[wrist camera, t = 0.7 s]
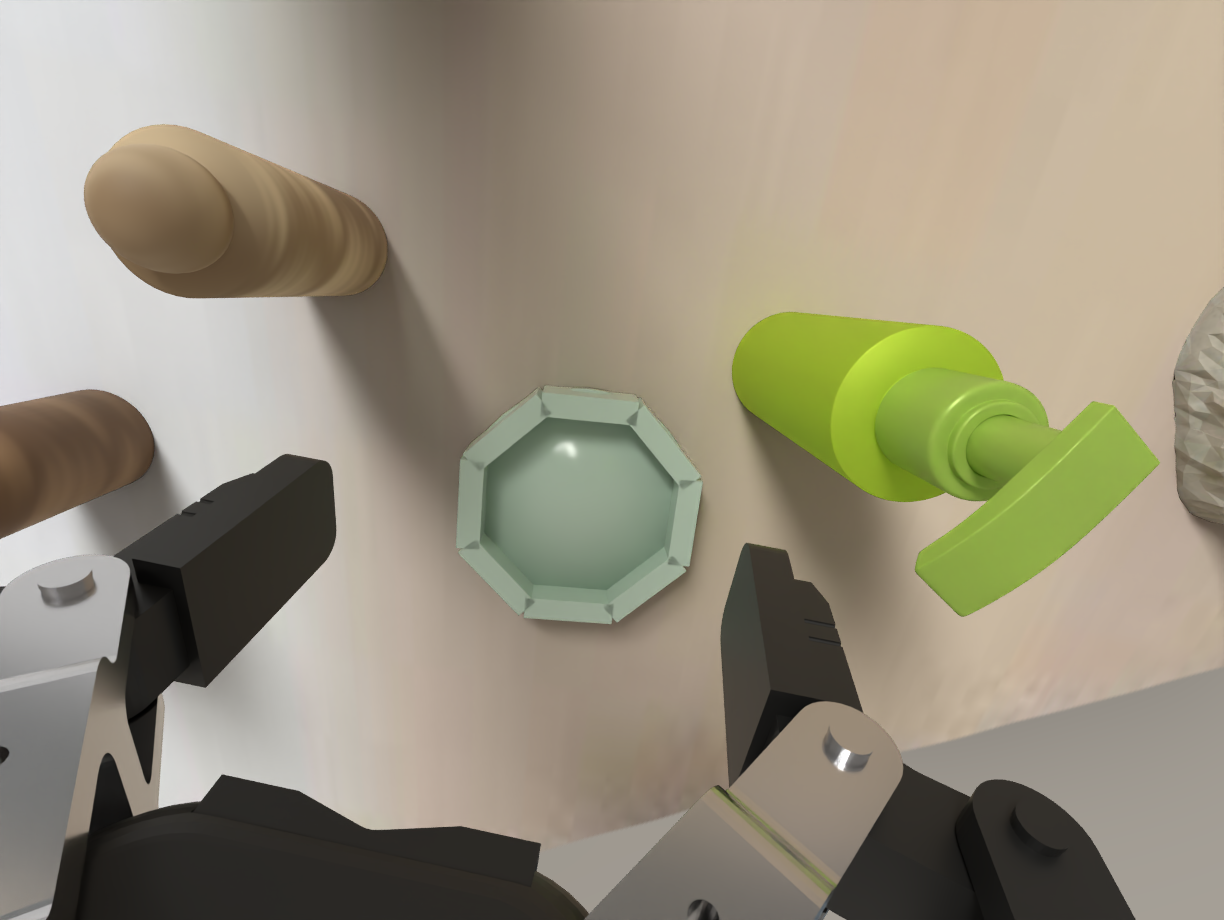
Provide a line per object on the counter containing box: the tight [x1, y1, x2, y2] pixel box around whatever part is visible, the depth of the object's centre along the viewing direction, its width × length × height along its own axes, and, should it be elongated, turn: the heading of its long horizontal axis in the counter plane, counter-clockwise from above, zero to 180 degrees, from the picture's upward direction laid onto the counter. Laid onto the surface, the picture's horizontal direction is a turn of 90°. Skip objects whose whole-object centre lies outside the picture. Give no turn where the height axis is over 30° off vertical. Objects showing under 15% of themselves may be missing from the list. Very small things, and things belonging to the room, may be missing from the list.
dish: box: [456, 385, 703, 624], centre depth 32 cm, size 13×13×2 cm
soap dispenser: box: [732, 312, 1160, 617], centre depth 23 cm, size 6×7×20 cm
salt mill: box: [84, 124, 388, 298], centre depth 22 cm, size 5×5×14 cm
